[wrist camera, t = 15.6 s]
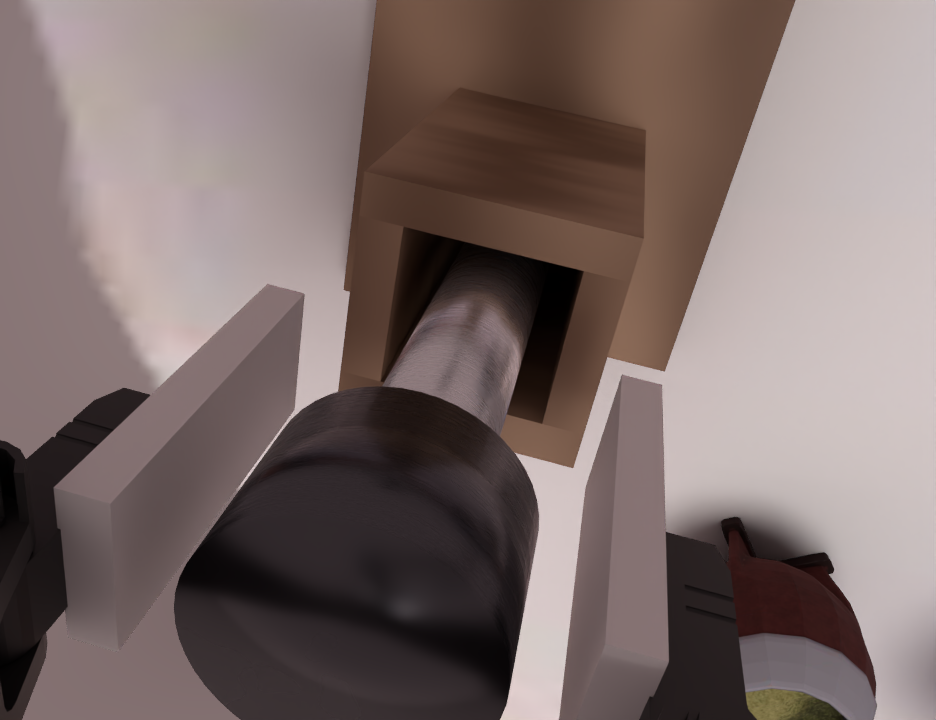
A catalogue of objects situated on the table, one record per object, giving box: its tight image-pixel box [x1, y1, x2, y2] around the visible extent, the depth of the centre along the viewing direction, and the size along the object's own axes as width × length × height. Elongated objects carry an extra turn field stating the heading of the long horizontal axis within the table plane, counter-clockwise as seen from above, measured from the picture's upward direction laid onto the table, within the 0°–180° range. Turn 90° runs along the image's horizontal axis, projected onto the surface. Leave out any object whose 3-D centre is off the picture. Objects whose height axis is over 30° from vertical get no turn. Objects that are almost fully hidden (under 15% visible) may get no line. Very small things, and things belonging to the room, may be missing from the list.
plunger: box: [174, 242, 550, 720], centre depth 18 cm, size 4×4×18 cm
